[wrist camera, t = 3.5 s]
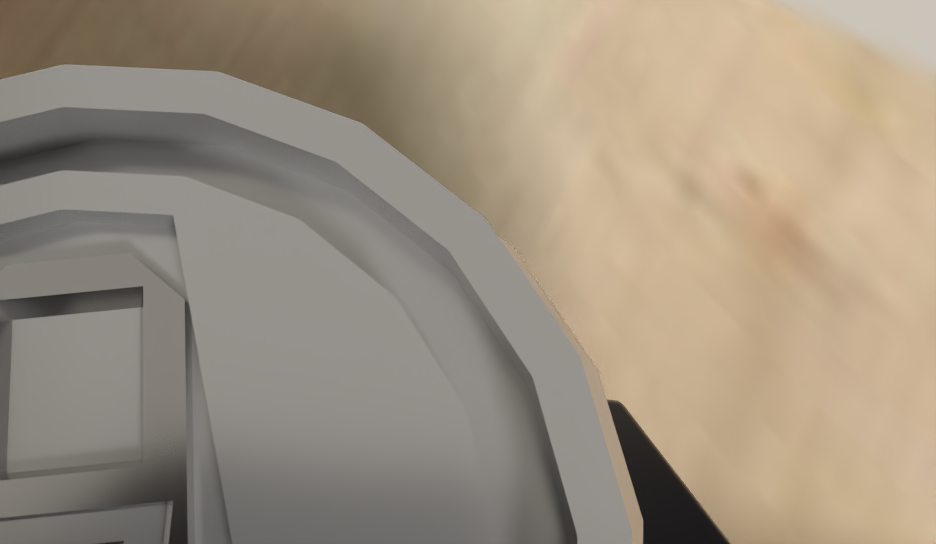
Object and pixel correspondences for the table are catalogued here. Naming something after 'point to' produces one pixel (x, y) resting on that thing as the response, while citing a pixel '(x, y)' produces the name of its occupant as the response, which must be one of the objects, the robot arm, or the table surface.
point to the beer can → (272, 334)
